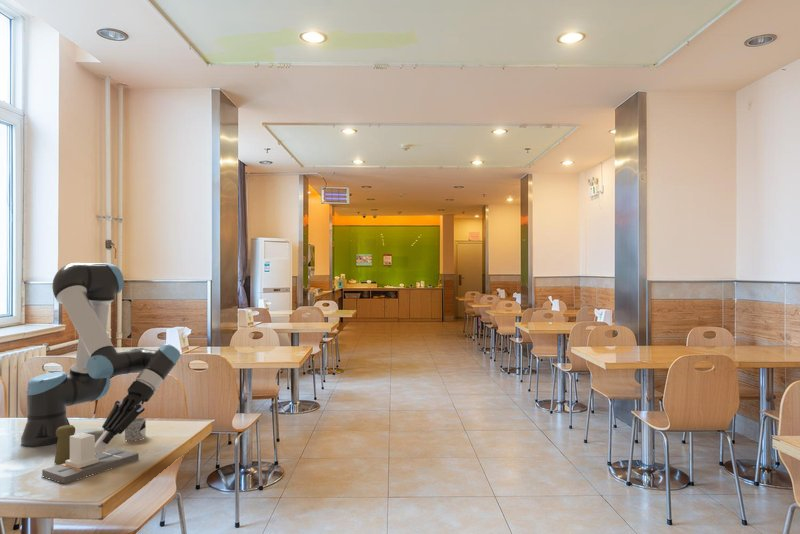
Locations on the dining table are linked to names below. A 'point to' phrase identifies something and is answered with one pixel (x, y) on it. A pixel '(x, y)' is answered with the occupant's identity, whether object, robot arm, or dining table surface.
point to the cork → (63, 443)
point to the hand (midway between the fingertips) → (94, 452)
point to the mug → (136, 430)
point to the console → (91, 466)
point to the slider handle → (82, 450)
